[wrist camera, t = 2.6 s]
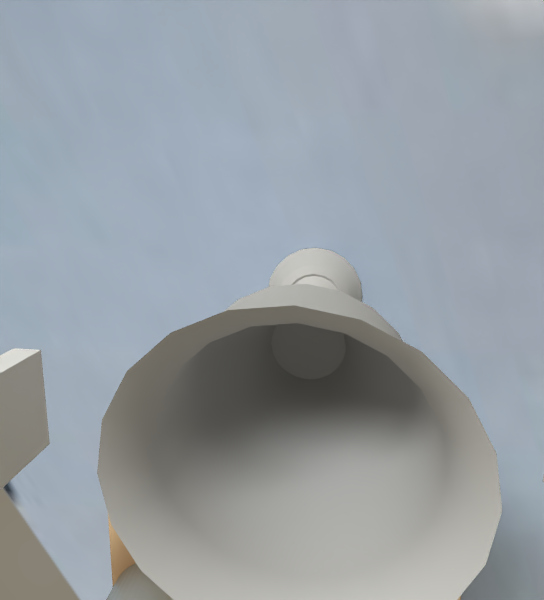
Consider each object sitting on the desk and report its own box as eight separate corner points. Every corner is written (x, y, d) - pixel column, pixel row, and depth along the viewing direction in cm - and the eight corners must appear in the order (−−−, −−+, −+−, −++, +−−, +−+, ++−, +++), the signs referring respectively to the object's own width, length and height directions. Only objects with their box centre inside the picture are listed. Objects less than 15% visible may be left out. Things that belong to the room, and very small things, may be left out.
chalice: (231, 328, 27) (60, 567, 10) (271, 211, 26) (152, 243, 8) (355, 373, 27) (410, 703, 9) (402, 258, 25) (576, 397, 8)
